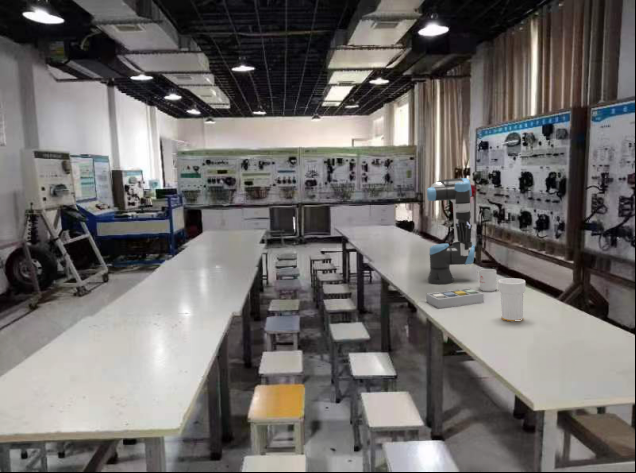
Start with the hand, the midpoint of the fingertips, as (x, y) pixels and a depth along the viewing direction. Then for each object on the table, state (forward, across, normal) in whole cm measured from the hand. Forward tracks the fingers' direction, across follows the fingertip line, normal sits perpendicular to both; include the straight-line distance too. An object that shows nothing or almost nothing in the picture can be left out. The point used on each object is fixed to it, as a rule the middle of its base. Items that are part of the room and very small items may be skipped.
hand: (464, 255), depth 252 cm
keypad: (+22, +8, -11) cm, 26 cm away
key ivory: (+20, +8, -20) cm, 29 cm away
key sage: (+20, +8, -2) cm, 21 cm away
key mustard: (+20, +8, -8) cm, 23 cm away
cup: (+23, +44, -2) cm, 50 cm away
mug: (+23, -8, +17) cm, 29 cm away
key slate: (+20, +8, -14) cm, 25 cm away
